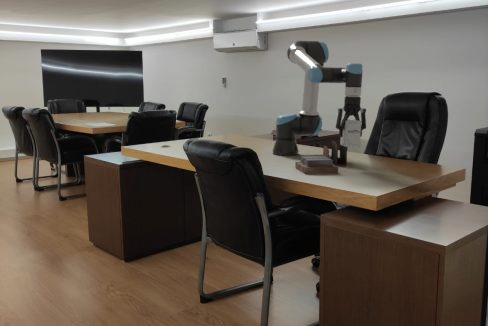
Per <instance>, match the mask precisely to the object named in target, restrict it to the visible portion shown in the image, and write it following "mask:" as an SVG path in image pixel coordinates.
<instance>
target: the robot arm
mask: <svg viewBox="0 0 488 326" xmlns="http://www.w3.org/2000/svg"><path fill="white" fill-rule="evenodd" d="M287 48H288V49H287V50H286V54H287V55H286V56H287V59H288V60H289V62H291V63H292V64H294V65H297V66H299V68H301V69H302V70H303V72H304V80H303V82H304V83H303V93H302V106H301V107H302V108H301V110H300V111H299V112H298V115H297V113H284V114H280V115H278V116H277V117H276V121H275V142H274V145H273V148H272V155H276V156H287V157H288V156H290V157H291V156H297V155H299V152H300V151H299V147H298V143H297V137H301V136H302V137H303V136H309V137H312V136H317V135H319V133H320V132H321V131H322V127H323V121H322V120H323V119H322V117H321V116H320V113H319V112H318V100H319V93H320V92H319V91H320V90H319V89H320V84H345V85H344V86H345V87H344V95H345V97H344V105H343V107H340V108H337V118H336V123H335V129H336V130H338V131H339V132H338V137H339V138H340V137H341V141H340V140H339V144H340V143H341V144H344V134H345V131H344V130H343V129H344V127H345V121H346V120H349V118H350V116H353V117H354V120H359V121H361V134H360V138H361V137H362V136H363V131H364V130H366V129H367V119H366V112H367V109H366V108H363V107H361V96H362V85H363V84H362V83H363V73H364V71H363V64H362V63H353V62H351V63H347V64H346V67H330V66H329V67H326V66H324V64H325V63H327V62H328V61H329V60H328V59H329V56H330V54H329V48H328V45H327V43H325V42H324V41H319V40H296V41H294V42H293V43H291V44H290V45H289V47H287ZM343 113H344V115H343ZM359 113H360V115H359Z"/></svg>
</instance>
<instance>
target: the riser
mask: <svg viewBox="0 0 488 326" xmlns="http://www.w3.org/2000/svg"><path fill="white" fill-rule="evenodd" d="M330 158H331V157H329V158H327V157H325V156H323V155H311V156H310V155H309V156H306V155H305V156H304V155H303V156H301V155H300V161H295V167H294V168H295V169H296V170H298V171H300V172H301V173H303V174H304V175H317V174H318V175H319V174H320V175H324V174H325V175H326V174H327V175H328V174H330V173H331V174H339V166H335V165H333V160H332V159H330Z"/></svg>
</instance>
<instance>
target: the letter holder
mask: <svg viewBox="0 0 488 326" xmlns="http://www.w3.org/2000/svg"><path fill="white" fill-rule="evenodd" d="M340 140H341V137H339V141H340ZM322 152H323V153H322V156H325V157H327V158H330V159H332V160H333V165H335V166H337V167H347V165H348V147H345V146H342V145H340V144H339V146H338V144H337V143H336V141H334V140H333V141H331V154H330V149H329V147H328V146H326V145H323V151H322ZM338 155H339V156H338ZM330 156H331V157H330Z"/></svg>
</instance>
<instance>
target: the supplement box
mask: <svg viewBox="0 0 488 326" xmlns="http://www.w3.org/2000/svg"><path fill="white" fill-rule="evenodd" d="M361 125H362V123H361V120H360V121H359V120H355V119H348V120H346V121H345V127H344V129H343V130H344V131H345V134H344V144H341V143H340V141H341V140H340V139H339V146H340V145H342V146H345V147H347V148H348V147H350V148H351V147H352V148H355V147H358V148H360V145H361V137H360V134H361Z"/></svg>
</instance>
